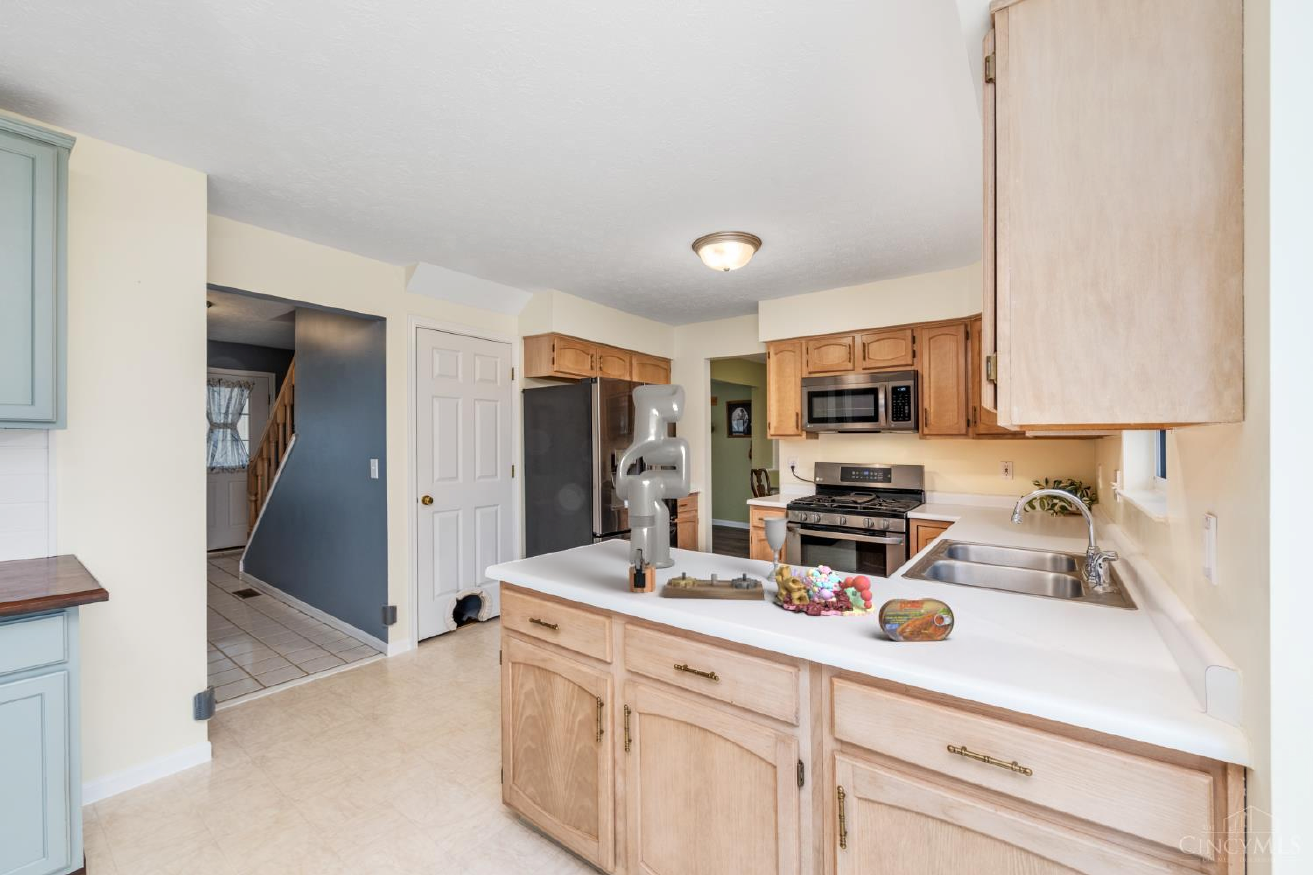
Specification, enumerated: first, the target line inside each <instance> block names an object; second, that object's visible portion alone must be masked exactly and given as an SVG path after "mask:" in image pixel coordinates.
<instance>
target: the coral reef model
mask: <svg viewBox="0 0 1313 875" xmlns="http://www.w3.org/2000/svg"><path fill="white" fill-rule="evenodd" d="M791 567H792V566H790V565H787V564H782V565H780V566H779V568H778V569H777V570H776V571H775V574H776V577H775V580H776V582H775V583H776V585H777V592H774V595H775V596H777V597H775V598H774V599H773V602H774V603H776V604H777V605H779V606H782V607H783V609H784V610H785V609H786V610H791V611H792V610H793V611H794V610H795V613H798V612H802V611H803V612H806V613H807V615H811V616H812V615H813V616H815V615H816V616H833V615H837V616H842V617H866V616H870V615H873V614H875V613H876V611H877V607H876V605H875V603H874V602H873V601H872V599H873V593H872V591H870V588H871V586H872V585H871V581H870V579H869V578H868V577H866V576H865V575H861V574H860V575H857V576H855V577H851V576H848V577H846V578H844V581H842V579H841V578H840V577H839V575H838V574H837V573H836V572H835V571H832V569H831V567H829V566H826V565H824V566H823V565H821V564H820V565H818V566H817V567H812V568H810V569H806V571H805V573H804V575H803V572H802V569H800V573H798V572H797V568H795V569H793V568H792V569H791ZM793 570H794V571H793ZM793 572H794V573H793Z"/></svg>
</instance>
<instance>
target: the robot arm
mask: <svg viewBox="0 0 1313 875" xmlns="http://www.w3.org/2000/svg"><path fill="white" fill-rule="evenodd" d="M632 401H633V404H634V407H635V410H634V411H635V412H634V427H633V428H634V430H633V442H632V443H631V445H629V447H628V448H626V450H625V451H623V454H621V457H620V459H619V461H618V463H617V467H616V476H615V494H616V496H617V498H618V499H619V500H621V501H625V502H627V514H628V515H627V517H628V519H627V523H628V525H627V526H628V528H629V529H630V530H631V531H630V544H629V546H630V547H629V549H630V551H629V564H630V565H634V588H645V587H646V573H644V572H645V566H646V565H650V566H651V567H655V569H660V568H661V569H662V568H668V567H672V566H674V565H675V560H674V559H673V558H670V555H671V554H670V547H671V546H670V511H669V508H668V506H667V505H666V504H665V502H664V501H663V499H685V498H687V497H688V496H689V495H690V494H691V451H690V450H691V449H690V444H689V442H688V439H686V438H684V437H681V436H680V437H672V436H670V437H669V436H668V423H679V422H680V421H681V420H682V417H683V414H684V408H685V405H686V392H685V388H684V387H683V386H682V385H680V384H677V383H675V384H644V385H638V386H636V387H635V388H633V390H632ZM641 457H642V459H643V462H644V464H646V465H647V466H653V467H654V466H657V467H661V466H662V467H668V466H669V467H673V466H674V467H676V469H648V470H644V471H642V472H641V473H640V474H628V475H627V473H628V470H629V468H630V465H631V464H632V463H633V462H635V461H636V460H637V459H640V458H641Z"/></svg>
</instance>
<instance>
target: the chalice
mask: <svg viewBox="0 0 1313 875" xmlns="http://www.w3.org/2000/svg"><path fill="white" fill-rule="evenodd" d="M762 520H763V523H764V536H765V537H764V538H765V539H766V542H767V544H768V546H769V548H770V550H772V551H773V556H772V558H773V562H772V564H773V566H774V567H773V570H772V571H770V572H769V574H768V577H767V579H766V580H767V581H769V582H773V583H774V582H775V583H776V580H775V577H776V574H775V571H776V570H777V569H779V568H778V566H779V564H780V563H779V561H778V560H779V554H778V552H779V551H781V549H782V547H783V545H784V543H785V540H786V538H787V522H788V520H789V518H786V517H777V516H775V517H770V516H769V517H763V518H762Z"/></svg>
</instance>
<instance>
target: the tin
mask: <svg viewBox="0 0 1313 875" xmlns="http://www.w3.org/2000/svg"><path fill="white" fill-rule="evenodd" d="M877 619H878V624H879V628H880V630H882V632H883V633H884V634H885V635H887V636H888V637H889V638H890V639H891V640H893V641H896V642H899V643H905V642H906V643H910V642H911V643H912V642H939V641H942V640H944V639H946V638H947V637H948V636H950V635H951V633H952V631H953V629H954V626H955V616H954V612H953V610H952V609H951V607H950V606H949V605H948V604H947V603H946V602H944V601H942V600H939V599H936V598H932V597H920V598H918V597H917V598H894V599H889V600H888V601H886V602H885V603H884V604H883V605H882V606H881V607H880V609H879V611H878V618H877Z"/></svg>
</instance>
